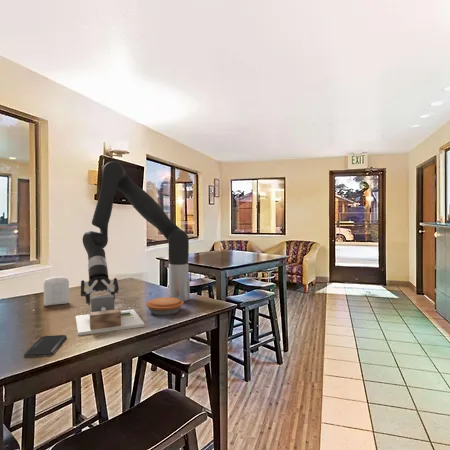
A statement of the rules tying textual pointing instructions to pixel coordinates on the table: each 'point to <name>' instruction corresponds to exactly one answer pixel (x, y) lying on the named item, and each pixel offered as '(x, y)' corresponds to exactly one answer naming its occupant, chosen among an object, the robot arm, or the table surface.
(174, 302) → the pie
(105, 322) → the brown wooden block
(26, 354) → the phone
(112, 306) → the gauge carriage
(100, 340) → the table surface
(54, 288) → the photo printer
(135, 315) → the base
